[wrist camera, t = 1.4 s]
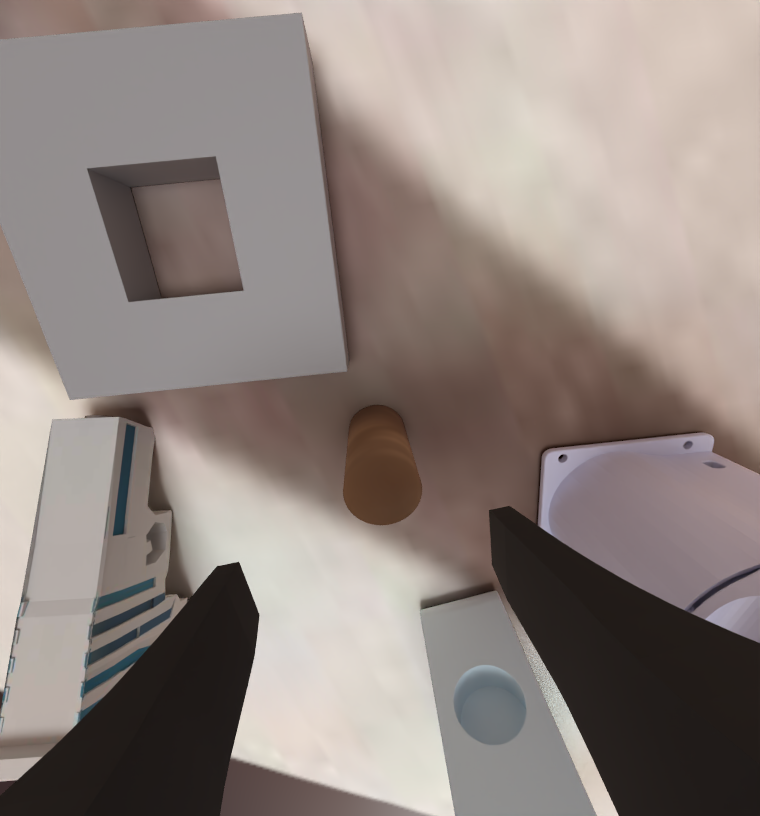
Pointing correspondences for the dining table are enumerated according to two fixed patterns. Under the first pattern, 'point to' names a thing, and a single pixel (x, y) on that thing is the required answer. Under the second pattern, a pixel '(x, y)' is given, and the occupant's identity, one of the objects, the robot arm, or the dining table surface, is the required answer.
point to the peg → (380, 468)
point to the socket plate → (162, 164)
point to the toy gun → (85, 584)
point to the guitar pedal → (496, 717)
